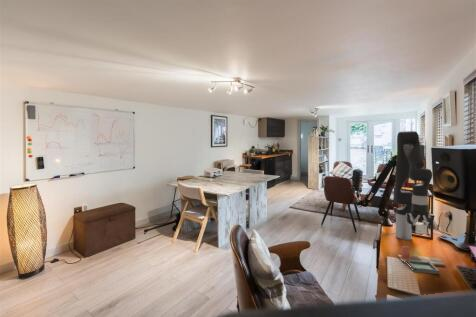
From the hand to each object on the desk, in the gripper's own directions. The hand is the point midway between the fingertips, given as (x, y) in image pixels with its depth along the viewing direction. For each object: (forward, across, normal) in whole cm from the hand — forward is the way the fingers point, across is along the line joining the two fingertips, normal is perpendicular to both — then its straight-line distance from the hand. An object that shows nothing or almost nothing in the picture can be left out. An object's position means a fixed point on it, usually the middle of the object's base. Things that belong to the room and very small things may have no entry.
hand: (419, 231), depth 134 cm
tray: (+15, +4, +14) cm, 21 cm away
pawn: (+14, +9, +5) cm, 18 cm away
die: (0, 0, 0) cm, 1 cm away
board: (+15, +2, +5) cm, 16 cm away
